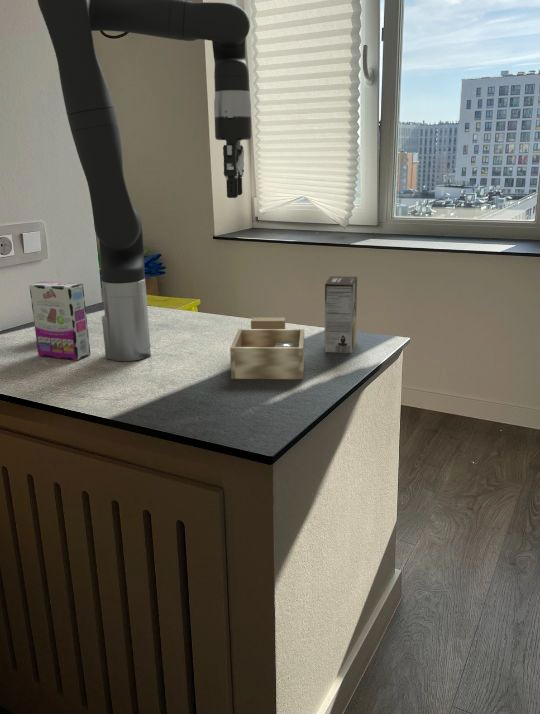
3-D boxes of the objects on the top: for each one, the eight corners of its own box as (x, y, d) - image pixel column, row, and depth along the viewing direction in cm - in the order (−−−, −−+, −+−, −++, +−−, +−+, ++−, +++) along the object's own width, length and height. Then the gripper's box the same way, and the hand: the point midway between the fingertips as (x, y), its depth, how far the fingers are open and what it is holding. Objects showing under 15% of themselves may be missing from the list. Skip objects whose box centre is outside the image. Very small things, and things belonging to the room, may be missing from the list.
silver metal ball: (274, 365, 132) (274, 347, 131) (275, 359, 136) (275, 341, 135) (294, 365, 132) (293, 347, 131) (294, 359, 136) (294, 341, 135)
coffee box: (328, 343, 150) (329, 275, 145) (356, 344, 149) (357, 276, 144) (323, 355, 141) (324, 283, 136) (353, 356, 140) (354, 284, 135)
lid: (234, 350, 148) (233, 327, 147) (241, 333, 163) (240, 311, 161) (298, 350, 147) (298, 327, 146) (300, 332, 162) (300, 311, 160)
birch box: (231, 382, 126) (230, 348, 124) (239, 360, 139) (238, 329, 137) (303, 382, 125) (302, 348, 123) (304, 360, 138) (304, 329, 136)
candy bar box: (92, 354, 145) (84, 283, 140) (77, 361, 140) (69, 287, 135) (52, 350, 149) (43, 280, 144) (37, 356, 144) (27, 284, 140)
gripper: (219, 117, 139) (222, 194, 144) (209, 113, 126) (212, 198, 131) (253, 117, 139) (255, 194, 144) (247, 113, 125) (249, 198, 130)
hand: (234, 196), depth 137 cm, fingers open, 8 cm apart
